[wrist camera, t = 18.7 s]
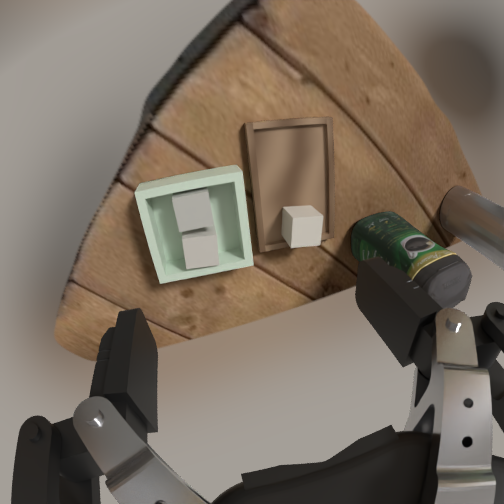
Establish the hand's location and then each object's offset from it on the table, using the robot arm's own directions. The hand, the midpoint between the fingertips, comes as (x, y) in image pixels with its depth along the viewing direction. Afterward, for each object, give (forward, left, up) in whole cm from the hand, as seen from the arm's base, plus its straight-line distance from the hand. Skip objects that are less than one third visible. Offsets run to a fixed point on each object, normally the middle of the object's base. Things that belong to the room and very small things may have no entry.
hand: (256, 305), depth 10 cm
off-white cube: (+2, +4, -27) cm, 27 cm away
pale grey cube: (+2, +9, -27) cm, 28 cm away
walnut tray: (-11, +4, -27) cm, 30 cm away
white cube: (-11, +9, -27) cm, 30 cm away
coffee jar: (-24, +14, -28) cm, 39 cm away
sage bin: (+2, +7, -27) cm, 28 cm away
